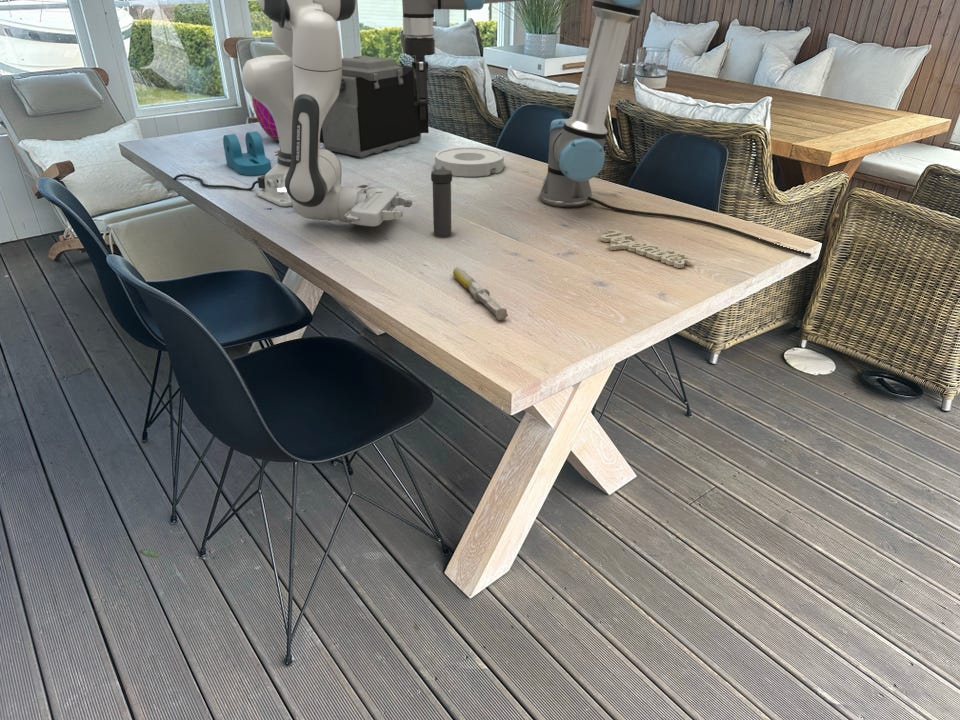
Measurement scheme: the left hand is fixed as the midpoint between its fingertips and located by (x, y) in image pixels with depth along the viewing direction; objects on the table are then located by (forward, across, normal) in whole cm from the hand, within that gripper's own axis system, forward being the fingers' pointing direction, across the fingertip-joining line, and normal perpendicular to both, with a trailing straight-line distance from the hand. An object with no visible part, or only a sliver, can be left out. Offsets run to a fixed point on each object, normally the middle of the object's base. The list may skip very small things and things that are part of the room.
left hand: (406, 208), depth 175 cm
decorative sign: (+59, -2, +6) cm, 60 cm away
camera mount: (-67, +48, +6) cm, 83 cm away
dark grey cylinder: (+9, 0, +6) cm, 11 cm away
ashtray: (+4, +65, +6) cm, 65 cm away
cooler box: (-38, +87, +6) cm, 95 cm away
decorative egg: (-73, +89, +6) cm, 115 cm away
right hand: (+1, +13, -18) cm, 22 cm away
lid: (+9, 0, -10) cm, 13 cm away
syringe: (+25, -35, +6) cm, 44 cm away
